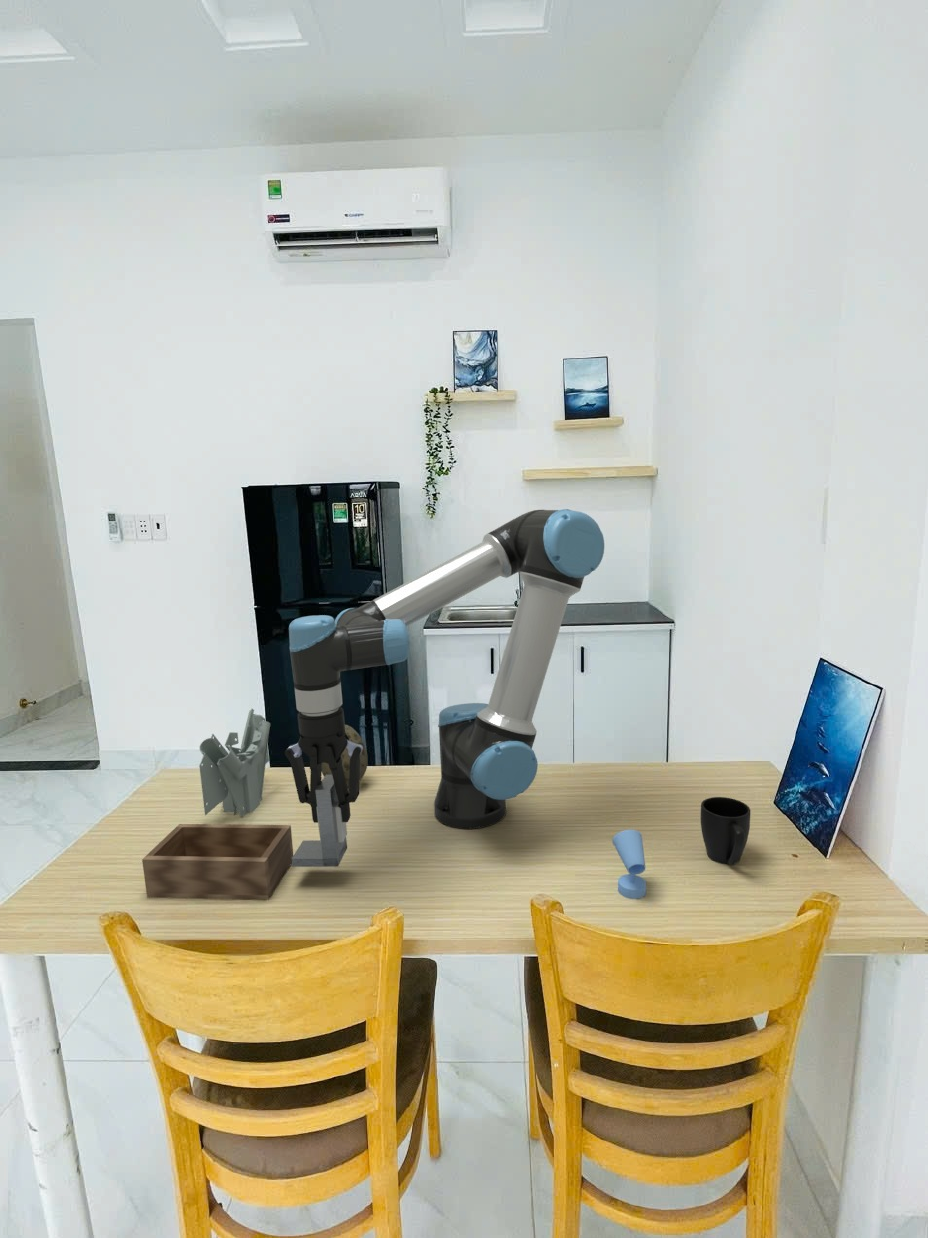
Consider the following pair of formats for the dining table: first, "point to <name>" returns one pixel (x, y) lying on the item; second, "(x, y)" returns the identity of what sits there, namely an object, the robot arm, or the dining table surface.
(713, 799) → the mug
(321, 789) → the angle bracket
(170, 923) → the dining table surface
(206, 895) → the open wooden box
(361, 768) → the decorative egg
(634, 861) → the spotlight
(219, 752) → the bracket
